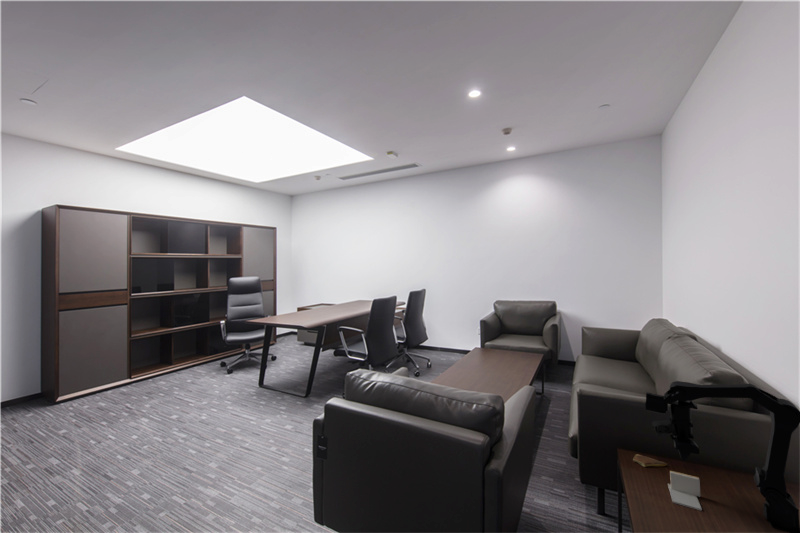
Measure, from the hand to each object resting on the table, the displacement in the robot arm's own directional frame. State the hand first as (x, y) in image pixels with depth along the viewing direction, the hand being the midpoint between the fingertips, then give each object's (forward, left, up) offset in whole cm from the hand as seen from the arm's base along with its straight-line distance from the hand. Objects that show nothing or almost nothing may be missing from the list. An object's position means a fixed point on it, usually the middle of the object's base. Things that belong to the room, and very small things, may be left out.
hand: (683, 460), depth 117 cm
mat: (+1, +3, -12) cm, 12 cm away
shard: (+9, -18, -13) cm, 24 cm away
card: (0, 0, -11) cm, 11 cm away
